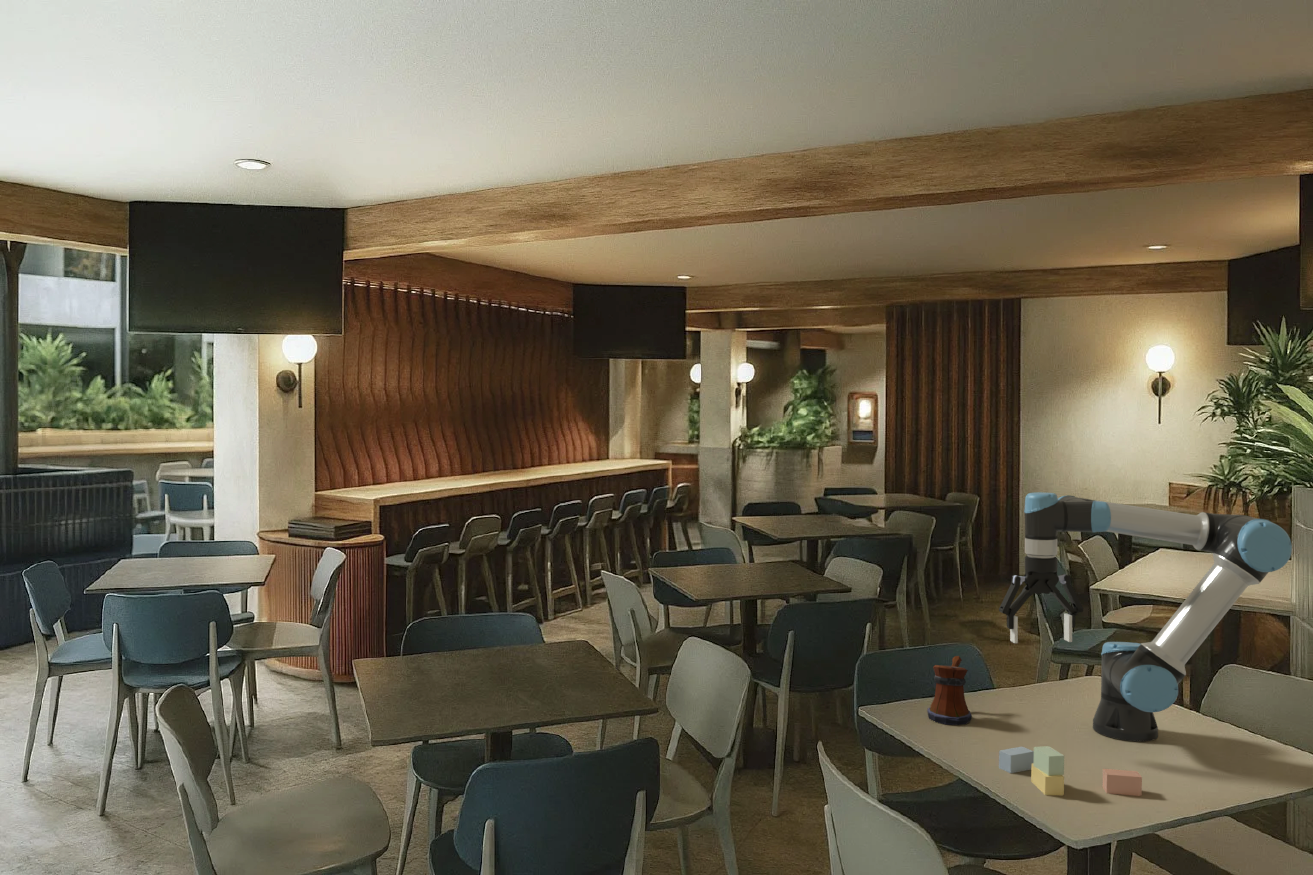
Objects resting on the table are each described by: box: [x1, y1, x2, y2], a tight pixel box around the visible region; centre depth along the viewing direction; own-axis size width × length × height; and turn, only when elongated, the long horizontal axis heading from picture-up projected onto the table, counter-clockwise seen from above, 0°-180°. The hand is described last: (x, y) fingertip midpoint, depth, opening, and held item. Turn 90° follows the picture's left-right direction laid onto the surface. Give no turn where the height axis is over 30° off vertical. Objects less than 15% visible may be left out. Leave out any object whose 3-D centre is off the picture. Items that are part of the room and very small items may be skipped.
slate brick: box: [998, 746, 1034, 774], centre depth 230 cm, size 7×4×4 cm, turn 115°
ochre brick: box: [1030, 763, 1065, 796], centre depth 218 cm, size 8×4×4 cm, turn 0°
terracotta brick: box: [1102, 768, 1143, 797], centre depth 217 cm, size 7×4×4 cm, turn 79°
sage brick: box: [1033, 745, 1065, 776], centre depth 218 cm, size 6×4×4 cm, turn 10°
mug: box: [926, 655, 973, 726], centre depth 269 cm, size 18×12×15 cm, turn 154°
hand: (1041, 641), depth 246 cm, fingers open, 13 cm apart
